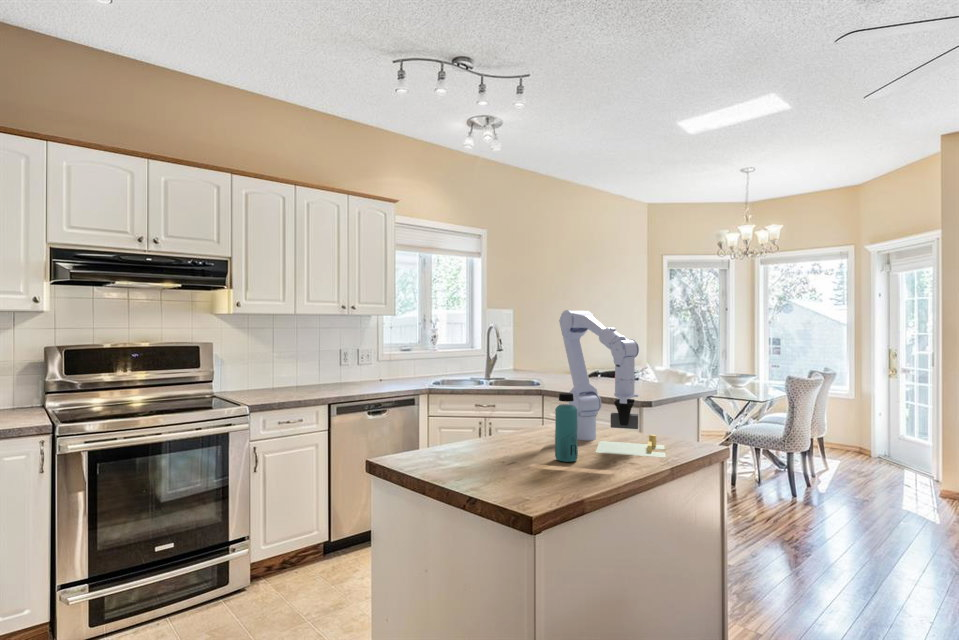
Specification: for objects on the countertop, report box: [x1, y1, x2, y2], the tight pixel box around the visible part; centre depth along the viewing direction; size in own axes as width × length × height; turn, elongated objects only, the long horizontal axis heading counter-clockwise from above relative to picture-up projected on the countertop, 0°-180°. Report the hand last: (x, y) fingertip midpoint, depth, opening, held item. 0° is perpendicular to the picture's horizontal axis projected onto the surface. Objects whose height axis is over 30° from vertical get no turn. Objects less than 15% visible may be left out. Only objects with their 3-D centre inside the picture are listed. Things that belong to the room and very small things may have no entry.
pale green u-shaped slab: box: [595, 434, 667, 459], centre depth 171 cm, size 20×16×4 cm
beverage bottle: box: [554, 392, 579, 462], centre depth 156 cm, size 6×7×20 cm
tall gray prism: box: [610, 412, 639, 430], centre depth 169 cm, size 8×4×4 cm, turn 72°
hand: (624, 423), depth 169 cm, fingers closed on tall gray prism, 3 cm apart
